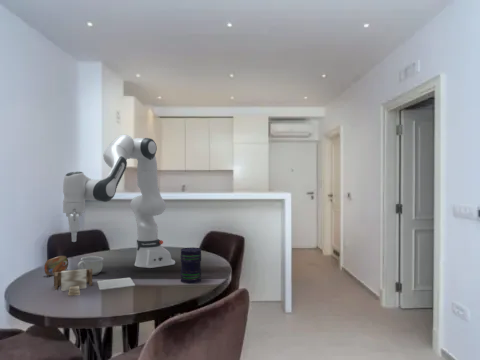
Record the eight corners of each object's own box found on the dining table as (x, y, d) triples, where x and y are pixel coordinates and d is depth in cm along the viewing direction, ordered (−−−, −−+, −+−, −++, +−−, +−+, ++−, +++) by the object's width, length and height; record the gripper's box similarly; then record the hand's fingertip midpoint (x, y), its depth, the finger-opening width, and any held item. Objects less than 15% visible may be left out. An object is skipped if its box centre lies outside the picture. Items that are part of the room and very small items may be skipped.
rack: (92, 281, 171) (92, 268, 171) (93, 285, 165) (93, 272, 165) (54, 285, 164) (54, 272, 164) (53, 290, 158) (53, 276, 158)
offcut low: (79, 294, 155) (79, 291, 155) (80, 296, 151) (80, 293, 151) (68, 295, 153) (68, 292, 153) (68, 298, 150) (68, 295, 150)
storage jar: (181, 278, 178) (181, 247, 178) (201, 277, 179) (201, 247, 179) (179, 283, 168) (179, 251, 168) (201, 283, 169) (201, 251, 169)
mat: (130, 278, 177) (130, 277, 177) (135, 285, 164) (135, 284, 164) (97, 281, 171) (97, 281, 171) (99, 290, 158) (99, 289, 158)
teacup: (95, 270, 193) (95, 255, 193) (107, 273, 187) (107, 257, 187) (70, 275, 182) (70, 259, 182) (82, 279, 176) (82, 262, 176)
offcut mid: (79, 291, 154) (79, 288, 154) (79, 293, 152) (79, 290, 152) (68, 292, 153) (68, 289, 153) (68, 294, 150) (68, 292, 150)
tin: (48, 277, 178) (48, 260, 178) (43, 277, 179) (43, 260, 179) (68, 270, 193) (68, 254, 193) (63, 269, 194) (63, 254, 194)
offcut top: (78, 288, 154) (79, 285, 154) (79, 290, 152) (79, 287, 152) (69, 289, 153) (69, 286, 153) (69, 291, 150) (69, 288, 150)
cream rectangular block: (86, 286, 163) (86, 268, 163) (86, 288, 161) (86, 270, 161) (61, 289, 159) (61, 271, 159) (61, 291, 157) (61, 272, 157)
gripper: (82, 210, 152) (82, 243, 152) (81, 206, 170) (80, 236, 170) (66, 210, 149) (65, 244, 149) (66, 207, 168) (65, 237, 168)
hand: (73, 240), depth 160 cm, fingers open, 8 cm apart
